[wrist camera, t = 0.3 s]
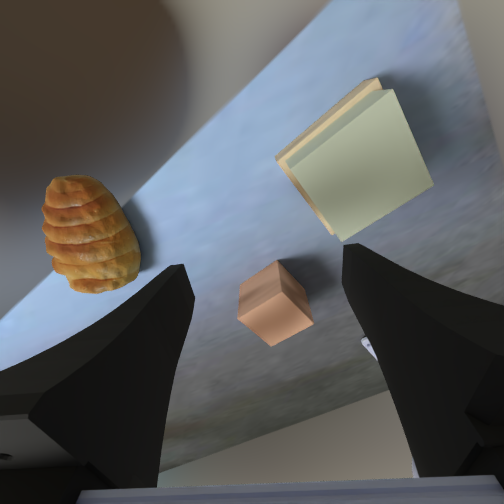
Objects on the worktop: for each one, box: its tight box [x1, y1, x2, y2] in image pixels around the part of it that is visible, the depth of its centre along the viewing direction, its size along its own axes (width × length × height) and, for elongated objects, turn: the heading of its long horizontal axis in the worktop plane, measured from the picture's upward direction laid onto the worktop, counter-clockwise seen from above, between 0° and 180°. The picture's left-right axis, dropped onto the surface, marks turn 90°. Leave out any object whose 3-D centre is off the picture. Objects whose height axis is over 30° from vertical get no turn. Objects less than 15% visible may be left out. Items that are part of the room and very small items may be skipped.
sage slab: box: [285, 89, 434, 242], centre depth 15 cm, size 6×6×2 cm
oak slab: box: [275, 78, 383, 235], centre depth 17 cm, size 7×7×2 cm
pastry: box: [42, 175, 141, 294], centre depth 19 cm, size 9×7×4 cm
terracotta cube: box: [238, 260, 314, 346], centre depth 22 cm, size 4×4×4 cm
